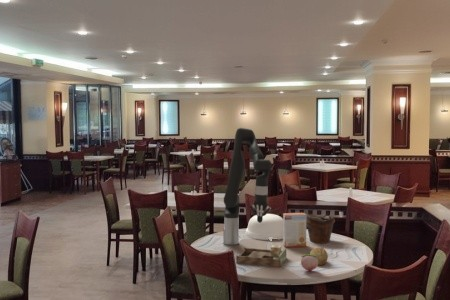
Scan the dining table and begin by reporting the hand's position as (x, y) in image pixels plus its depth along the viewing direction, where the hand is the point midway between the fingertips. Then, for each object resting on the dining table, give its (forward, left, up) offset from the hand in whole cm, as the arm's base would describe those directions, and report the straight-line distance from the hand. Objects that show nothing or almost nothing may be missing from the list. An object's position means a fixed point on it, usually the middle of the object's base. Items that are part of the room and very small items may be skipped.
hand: (259, 222), depth 294 cm
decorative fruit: (+32, -21, -20) cm, 43 cm away
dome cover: (-7, +51, -20) cm, 55 cm away
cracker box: (+16, +27, -20) cm, 37 cm away
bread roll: (+35, -3, -20) cm, 41 cm away
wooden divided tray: (+4, -10, -20) cm, 22 cm away
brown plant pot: (+30, +45, -20) cm, 58 cm away
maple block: (+11, -7, -17) cm, 21 cm away
